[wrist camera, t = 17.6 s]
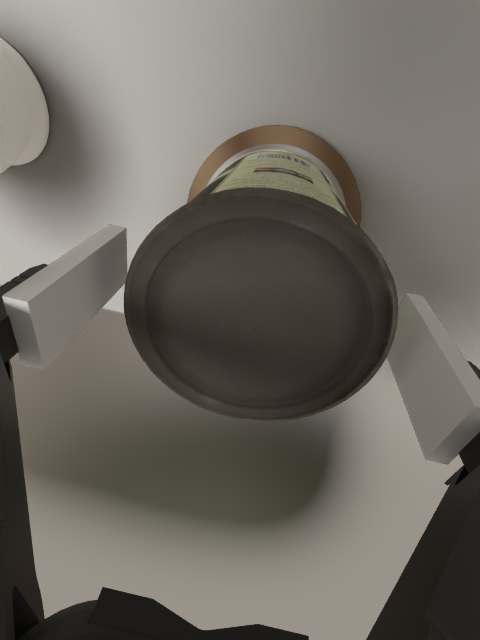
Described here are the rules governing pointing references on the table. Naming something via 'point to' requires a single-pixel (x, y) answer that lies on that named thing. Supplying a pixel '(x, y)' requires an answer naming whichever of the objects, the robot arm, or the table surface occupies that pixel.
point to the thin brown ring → (285, 140)
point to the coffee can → (262, 294)
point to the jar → (20, 111)
